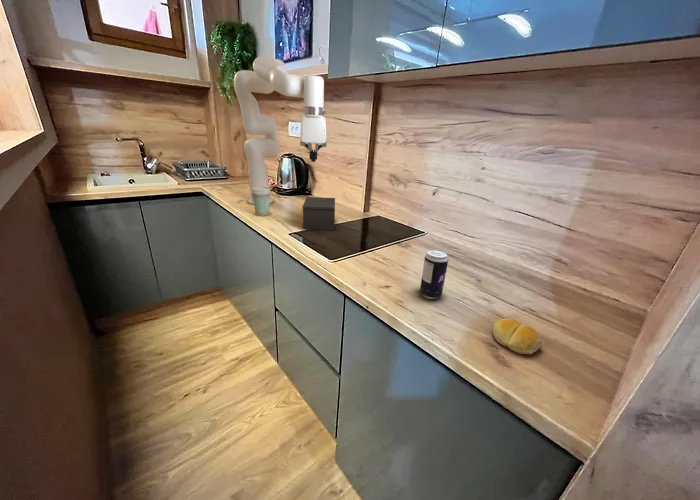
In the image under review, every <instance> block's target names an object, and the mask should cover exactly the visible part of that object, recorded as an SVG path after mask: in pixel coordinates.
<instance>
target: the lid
mask: <svg viewBox="0 0 700 500" xmlns="http://www.w3.org/2000/svg"><path fill="white" fill-rule="evenodd" d="M303 209H335V210H336V197H322V196H321V197H319V196H318V197H317V196H316V197H315V196H306V197H305V200H304V202H303V205H302V210H303Z"/></svg>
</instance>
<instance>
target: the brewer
mask: <svg viewBox="0 0 700 500" xmlns="http://www.w3.org/2000/svg"><path fill="white" fill-rule="evenodd" d="M335 217H336V208H335V209H303V208H302V229H303V230H312V231H313V230H315V231H335V223H336V222H335V221H336V220H335V219H336V218H335Z"/></svg>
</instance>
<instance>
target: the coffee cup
mask: <svg viewBox="0 0 700 500" xmlns="http://www.w3.org/2000/svg"><path fill="white" fill-rule="evenodd" d="M251 193H252V197H253V202H254V204H253V206H254V207H253V208H254V209H255V210H254V211H255V215H256V216H260V217H265V216H269V215H270V204H271V203H270V198H271V188H270V186H269V187H253V188H252V191H251Z"/></svg>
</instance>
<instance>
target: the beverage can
mask: <svg viewBox="0 0 700 500" xmlns="http://www.w3.org/2000/svg"><path fill="white" fill-rule="evenodd" d="M426 252H427V253H426V254H425V256H424V259H423V267H422V273H421V280H420V288H419V292H420V294H421V295H422V296H423V297H424V298H426V299H429V300H436V299H438V298H440V297H442V295H443V290H444V287H445V286H444V285H445V279H446V275H447V270H448V264H449V258H448V253H447V252H446V251H444V250H440V249H429V250H428V251H426Z"/></svg>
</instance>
